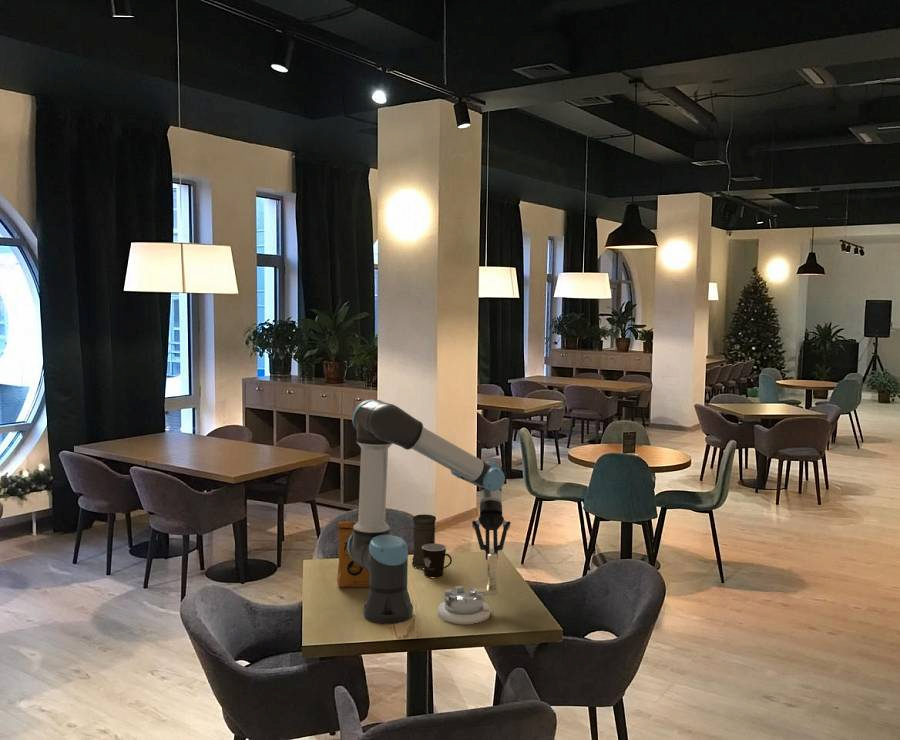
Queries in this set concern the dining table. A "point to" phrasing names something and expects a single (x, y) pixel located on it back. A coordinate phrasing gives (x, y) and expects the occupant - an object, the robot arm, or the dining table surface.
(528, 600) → the dining table surface
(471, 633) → the dining table surface
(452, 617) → the nut base plate
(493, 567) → the grey and clear pieces
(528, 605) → the dining table surface
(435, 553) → the coffee mug
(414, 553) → the container
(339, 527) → the coffee package
